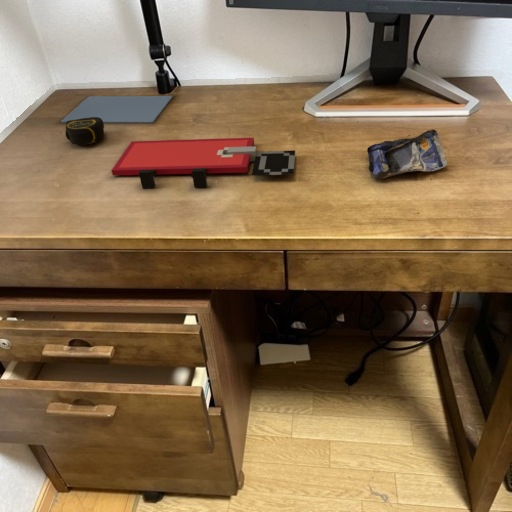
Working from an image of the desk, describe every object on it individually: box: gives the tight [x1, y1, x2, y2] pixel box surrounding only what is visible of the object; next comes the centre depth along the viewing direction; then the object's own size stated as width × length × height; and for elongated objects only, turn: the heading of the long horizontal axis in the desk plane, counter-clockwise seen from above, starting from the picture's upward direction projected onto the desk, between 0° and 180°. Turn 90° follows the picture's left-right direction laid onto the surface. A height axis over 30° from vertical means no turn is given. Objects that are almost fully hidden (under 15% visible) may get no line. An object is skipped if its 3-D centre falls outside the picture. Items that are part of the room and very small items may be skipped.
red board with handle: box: [110, 137, 296, 190], centre depth 82 cm, size 30×3×15 cm
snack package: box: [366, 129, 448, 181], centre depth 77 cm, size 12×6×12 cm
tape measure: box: [65, 117, 105, 146], centre depth 93 cm, size 7×7×4 cm
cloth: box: [60, 95, 174, 124], centre depth 106 cm, size 20×14×1 cm
